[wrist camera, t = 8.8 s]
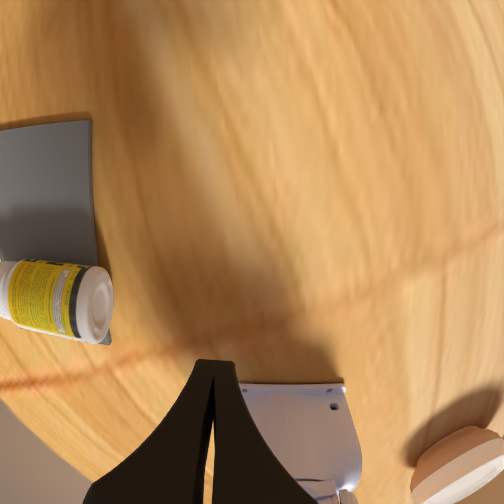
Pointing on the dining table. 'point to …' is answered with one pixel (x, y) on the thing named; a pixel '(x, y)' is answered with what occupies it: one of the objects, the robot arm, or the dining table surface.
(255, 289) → the dining table surface
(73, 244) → the mat
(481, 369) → the dining table surface
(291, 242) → the dining table surface
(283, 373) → the dining table surface
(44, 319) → the supplement bottle
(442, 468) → the bowl
